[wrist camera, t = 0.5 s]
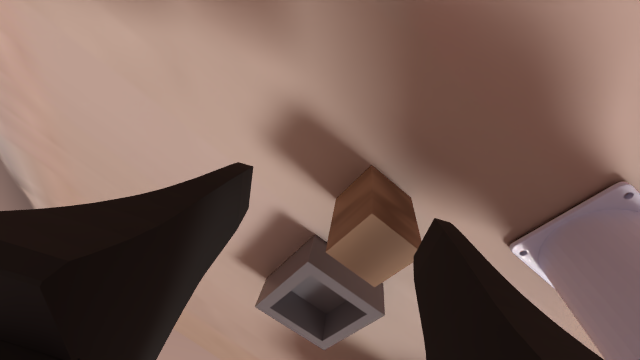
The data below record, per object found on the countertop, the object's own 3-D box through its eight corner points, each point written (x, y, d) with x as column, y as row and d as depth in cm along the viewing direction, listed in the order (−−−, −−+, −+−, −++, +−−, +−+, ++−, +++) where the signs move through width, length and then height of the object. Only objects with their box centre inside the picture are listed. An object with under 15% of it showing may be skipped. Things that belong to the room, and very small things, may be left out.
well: (383, 283, 25) (384, 315, 23) (328, 319, 29) (323, 350, 26) (315, 234, 24) (308, 261, 21) (266, 278, 28) (254, 306, 25)
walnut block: (411, 197, 21) (424, 254, 16) (373, 227, 23) (374, 287, 17) (371, 165, 20) (372, 213, 15) (336, 198, 22) (325, 252, 17)
